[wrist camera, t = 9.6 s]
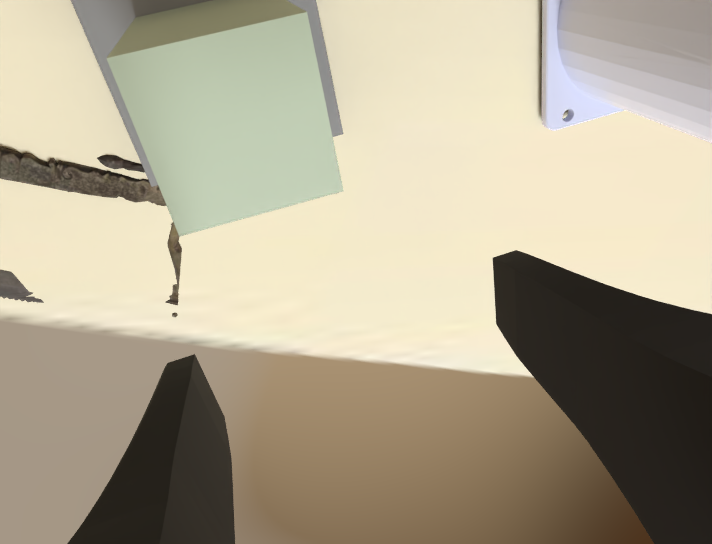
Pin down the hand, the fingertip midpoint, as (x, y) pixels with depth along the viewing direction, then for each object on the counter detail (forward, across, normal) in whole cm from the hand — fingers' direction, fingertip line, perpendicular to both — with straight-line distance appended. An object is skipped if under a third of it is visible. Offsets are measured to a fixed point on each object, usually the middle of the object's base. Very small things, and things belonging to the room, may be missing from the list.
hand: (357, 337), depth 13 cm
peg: (+9, +1, -5) cm, 10 cm away
